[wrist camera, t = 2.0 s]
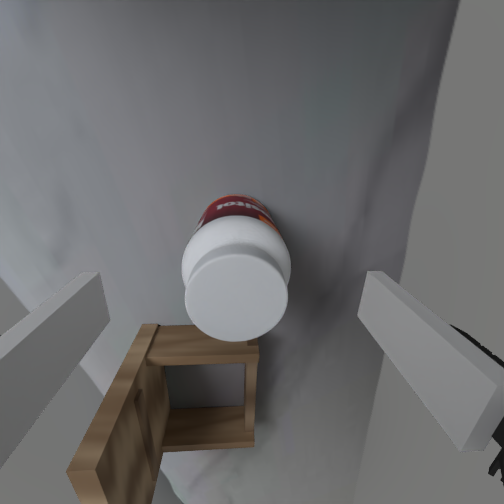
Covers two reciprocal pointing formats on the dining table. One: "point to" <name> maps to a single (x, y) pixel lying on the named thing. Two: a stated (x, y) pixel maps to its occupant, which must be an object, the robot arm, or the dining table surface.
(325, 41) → the dining table surface
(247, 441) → the brown wooden l-shaped frame
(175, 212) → the dining table surface
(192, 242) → the pill bottle
